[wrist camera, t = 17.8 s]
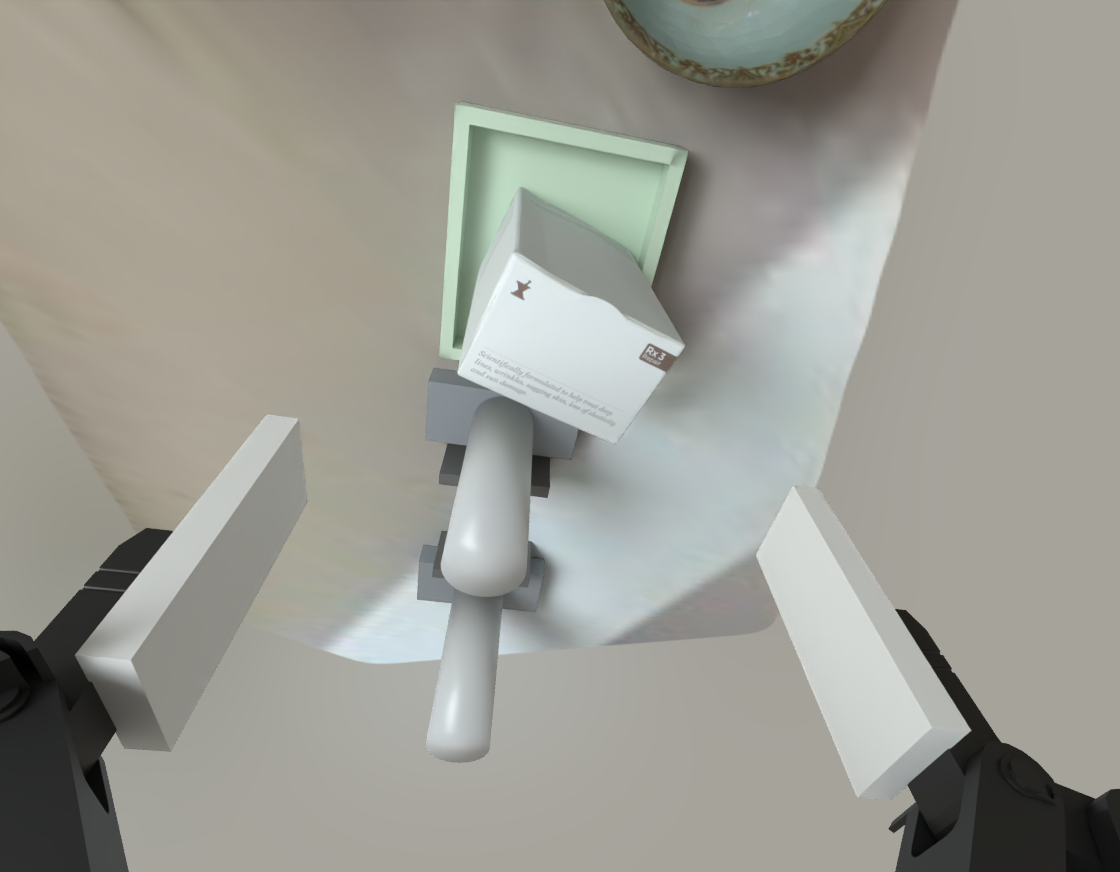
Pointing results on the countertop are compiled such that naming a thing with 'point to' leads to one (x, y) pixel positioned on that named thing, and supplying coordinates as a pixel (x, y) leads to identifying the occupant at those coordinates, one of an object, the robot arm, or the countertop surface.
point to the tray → (548, 192)
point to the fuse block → (482, 545)
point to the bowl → (740, 35)
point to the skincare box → (566, 322)
